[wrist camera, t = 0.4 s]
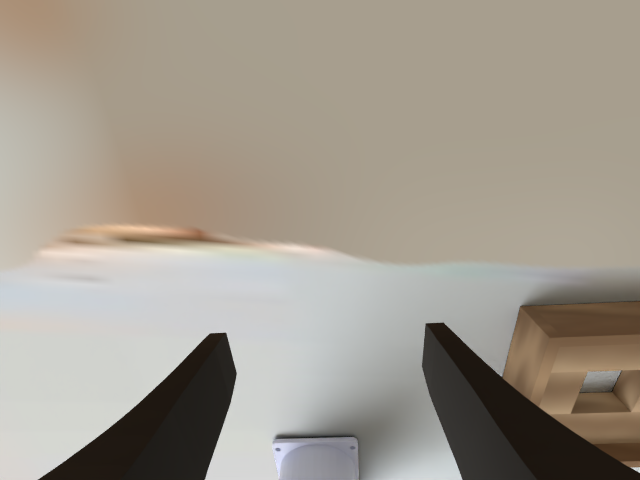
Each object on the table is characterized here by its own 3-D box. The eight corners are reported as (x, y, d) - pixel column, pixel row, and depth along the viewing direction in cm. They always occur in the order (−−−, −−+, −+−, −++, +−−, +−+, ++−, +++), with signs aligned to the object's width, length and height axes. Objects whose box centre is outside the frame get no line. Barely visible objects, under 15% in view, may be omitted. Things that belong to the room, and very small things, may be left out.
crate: (649, 427, 27) (687, 466, 24) (488, 431, 28) (507, 469, 25) (725, 297, 22) (787, 328, 19) (520, 306, 22) (549, 337, 19)
